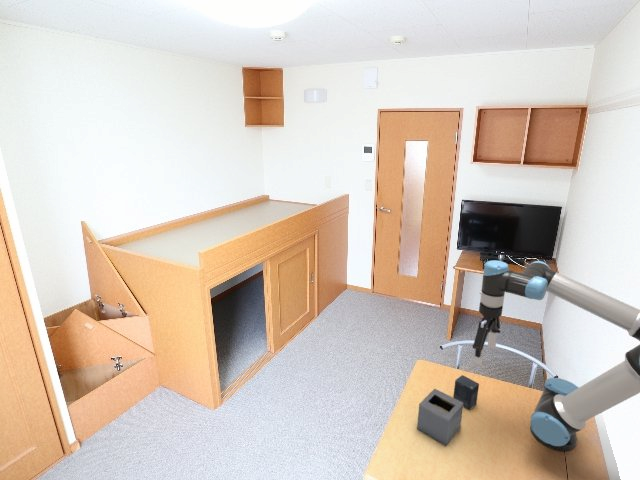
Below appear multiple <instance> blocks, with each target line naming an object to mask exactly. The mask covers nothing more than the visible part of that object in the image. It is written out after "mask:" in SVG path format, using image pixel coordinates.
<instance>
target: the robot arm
mask: <svg viewBox="0 0 640 480" xmlns="http://www.w3.org/2000/svg"><path fill="white" fill-rule="evenodd" d="M481 281H482V284H481V290H480V292H479V294H480V302H479V308H478V311H479V313H480V314H481V316H483V317H482V318H481V320H479V322H478V328H477V331H476V335H475V337H474V341H473V344H472V348H473V349H474V354H473V355H474V356H473V363H474V364H476V365H478V366H482V365H483V358H484V349H485V348H484V345H485V343H486V340H487V337H488V340H487V347H488V348H490V349H493V350H496V346H497V339H498V334H500V333H501V330H500V329H501V320H500V319H501V318H500V317H502V315H503V308H504V303H505V301H504V300H505V296H506V295H505V294H506V293H508V294H512V295H516V296H520V297H524V298H527V299H530V300H537V301H541V300H543V299H544V298H545V296H546V294H547V293H549V294H551V295H553V296H555V297H557V298H560V299H562V300H563V301H566V302H568V303H570V304H572V305H574V306H576V307H578V308H580V309H582V310H584V311H586V312H588V313H590V314H592V315H594V316H597V317H598V318H601V319H602V320H605V321H607V322H608V323H610V324H612V325H615V326H617V327H619V328H621V329H623V330H625V331H627V333H628V335H629V337H632V338H633V339H636V340H637V341H639V342H640V309H639V308H636V307H635V306H633V305H630V304H628V303H625V302H623V301H621V300H618V299H617V298H614V297H613V296H610V295H608V294H606V293H604V292H601V291H598V290H597V289H594V288H593V287H590V286H587V285H586V284H585V283H584V284H583V283H582V282H579V281H577V280H575V279H573V278H571V277H568V276H565V275H564V274H561V273H559V272H556V271H555V270H552V269H551V268H550V266H549V265H548V264H547V263H546V262H545V261H541V260H536V261H532V262H531V263H528V265H527V266H525V268H524V269H523V270H522V272H518V271H514V270H510V268H509V265H508V263H507V262H504V261H502V260H497V259H496V260H495V259H494V260H488V261H487V262H485V265H484V269H483V272H482V280H481ZM638 394H640V344H639V345H636V346H634V348H632V349H630V350H629V351H627V352H625V354H624V360H623V361H622V362H620V363H618V364H616V365H615V366H614V367H612V368H610V369H609V370H607V371H605V372H603V373H602V374H600V375H598V376H596V377H594V378H593V379H592V380H589V381H588V382H586V383H585V384H583V385H581V386H577V385H576V384H575V383H573V382H571V381H569V380H567V379H564V378H558V377H549V378H547V379H546V380H545V381H544V383H543V390H542V394H541V396H540V398H539V400H538V402H537V404H536V407H535V408H534V411H533V412H532V414H531V415H530V416H531V417H530V420H529V421H530V426H529V427H530V428H529V429H530V432H531V434H532V435H533V437H534V439H536V440H537V442H539V443H540V444H542V445H543V446H546V447H548V448H549V449H552V450H555V451H560V452H569V451H572V450H573V449H575V448H576V446H577V442H578V435H577V433H579V432H580V431H582V430H584V429H585V428H586V425H587V424H586V423H587V422H586V421H588V420H590V419H592V418H595V417H596V416H598V415H601V414H602V413H603V412H605V411H608V410H609V409H611V408H613V407H616V406H617V405H619V404H621V403H623V402H625V401H627V400H629V399H631V398H632V397H635V396H637V395H638Z"/></svg>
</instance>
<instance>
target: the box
mask: <svg viewBox="0 0 640 480" xmlns="http://www.w3.org/2000/svg"><path fill="white" fill-rule="evenodd" d="M479 385H480V383H479V382H477V381H475V380H473V379H471V378H469V377H467V376H466V375H463V374H462V375H460V376H458V377H457V378H456V379H455V381H454V389H453V396H452V397H453V398H455V399H457V400H459V401H461V402H463V403H464V404H463V408H465V409H467V410H468V411H470V410H472V409H473V408H474V407H475V406H476V405H477V401H478V394H479V387H480V386H479Z"/></svg>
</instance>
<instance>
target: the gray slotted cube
mask: <svg viewBox="0 0 640 480" xmlns="http://www.w3.org/2000/svg"><path fill="white" fill-rule="evenodd" d="M434 404H436V405H438V406H439V407H441V408H443V409H445V410H447V411H449V413H448V412H446V411H444V410H442V409H440V408H439V407H437V406H435V405H434ZM463 404H464V403H463V402H461V401H459V400H457V399H455V398H453V396H451V395H448V394H447V393H445V392H444V391H440V390H438V389H437V388H433V389H432V390H431V391H430V393H428V395H427V396H425V397H424V398H423V399H422V400H421V402H420V403H419V405H418V414H417V426H416V430H418V431H419V432H421V433H423V434H424V435H426V436H427V437H429V438H430V439H433V440H434V441H436V442H438V443H439V444H441V445H442V446H444V447H447V446H448V445H449V443H450V442H451V440H453V438H454V437H455V436H456V434H457V433H458V432H459V430H461V426H462V425H461V424H462V417H463V411H464V407H463Z"/></svg>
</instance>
